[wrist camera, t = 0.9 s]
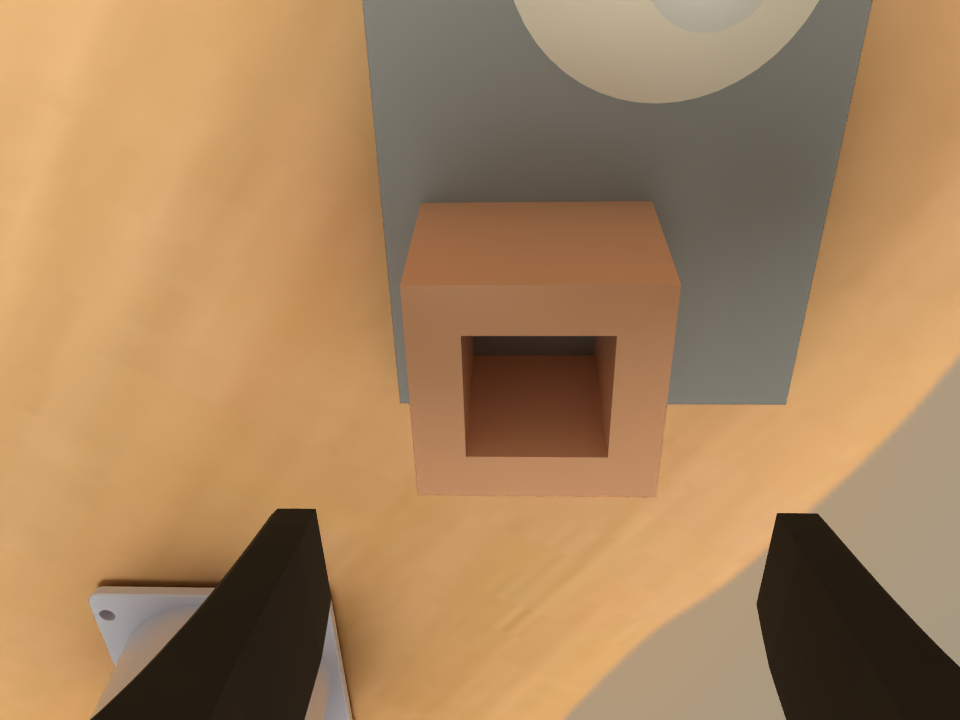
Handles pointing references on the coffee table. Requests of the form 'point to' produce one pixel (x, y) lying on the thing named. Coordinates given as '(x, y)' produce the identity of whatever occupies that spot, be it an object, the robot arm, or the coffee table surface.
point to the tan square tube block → (539, 378)
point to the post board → (631, 149)
